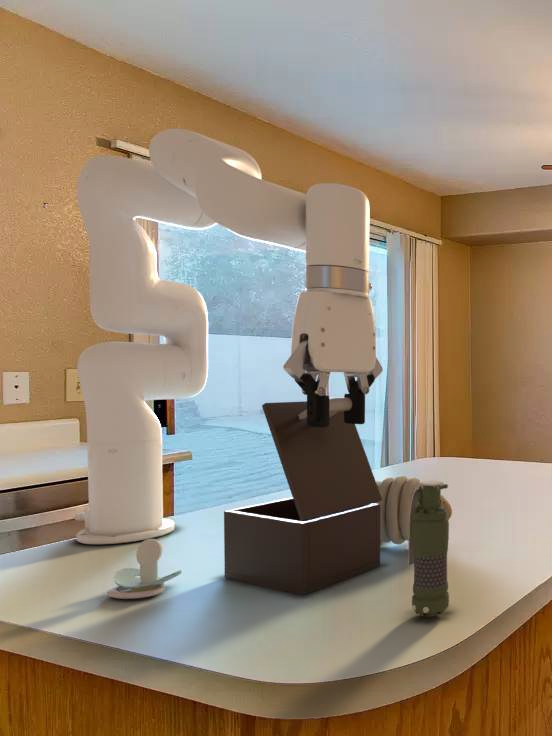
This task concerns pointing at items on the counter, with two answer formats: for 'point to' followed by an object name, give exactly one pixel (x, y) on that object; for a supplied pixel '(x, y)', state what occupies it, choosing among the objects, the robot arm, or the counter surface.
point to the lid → (321, 459)
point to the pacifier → (142, 574)
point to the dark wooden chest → (299, 545)
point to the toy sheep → (398, 508)
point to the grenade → (429, 549)
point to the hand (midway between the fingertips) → (336, 423)
